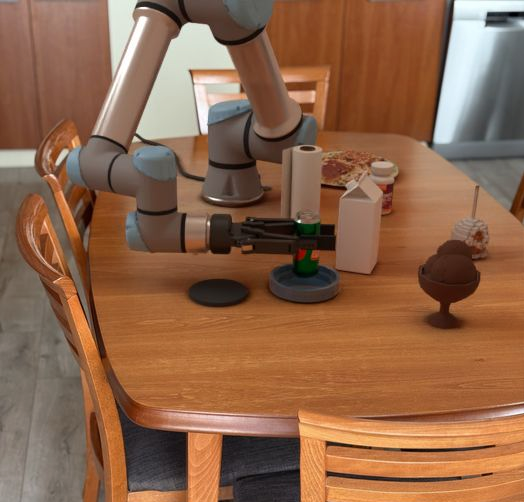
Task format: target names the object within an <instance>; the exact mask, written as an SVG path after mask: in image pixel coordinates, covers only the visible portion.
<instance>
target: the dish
mask: <svg viewBox="0 0 524 502" xmlns="http://www.w3.org/2000/svg"><path fill="white" fill-rule="evenodd" d="M270 270H271V271H270V272H269V274H268V277H269V278H268V287H269V290H270V292H271V293H273V295H275V296H276V297H279V298H280V299H283V300H287V301H291V302H297V303H298V302H299V303H318V302H323V301H326V300H327V301H328V300H330V299H332V298H334V297H335V296H336V295H338V294H339V292H340V289H341V279H342V278H341V275H340V272H338V270H337V269H335V268H333V267H330V266H328V265H325V264H322V263H319V272H318V274H317V275H316V276H314V277H312V278H300V277H297V276H295V275H294V274H293V272H292V262H288V263H283V264H280V265H278V266H275V267H274V268H273V269H270Z"/></svg>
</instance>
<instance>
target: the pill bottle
mask: <svg viewBox="0 0 524 502" xmlns="http://www.w3.org/2000/svg"><path fill="white" fill-rule="evenodd" d="M371 172H372V173H371V174H370V175H369V176H368V177H369V178H370V179H371V180H372V181H373V182H374V183H375V184H376V185H377V186H378V187H379V188H380V189H381V190H382V192H383V199H382V210H381V216H384V215H389V214H390V213H392V208H393V197H394V188H395V187H394V186H395V177H393V176H392V175H391V174H392V173H393V164H392V163H389V162H374V163H372V164H371Z"/></svg>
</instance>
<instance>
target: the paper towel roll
mask: <svg viewBox="0 0 524 502" xmlns="http://www.w3.org/2000/svg"><path fill="white" fill-rule="evenodd" d="M322 153H323V148H322V147H320V146H317V145H315V146H312V145H300V146H295V147H291V148H289V149H286V150H283V159H282V164H281V196H280V197H281V198H280V218H295V216H296V213H297V212H299V211H303V210H311V211H315V212H318V213H319V214H320V205H321V190H322V189H321V188H322V187H321V186H322V184H321V170H322Z"/></svg>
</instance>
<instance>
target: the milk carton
mask: <svg viewBox="0 0 524 502" xmlns="http://www.w3.org/2000/svg"><path fill="white" fill-rule="evenodd" d="M367 174H368V170H367V171H366V172H365V173H364V174H363V175H362V177H361V178H360V179H359V181H358V182H356V181H355V179H353V180H351V181H350V182H348V183H347V184H346V185H345V186H344V187H345V188H346V189H347V190H345V192H344V193H343V194H342V196H341V197H339V204H338V219H337V220H338V222H337V235H336V250H335V268H334V270H336V271H343V272H345V271H346V272H352V273H358V274H366V275H370V274H371V273H372V272H373V269H374V268H375V266H376V264H377V263H378V255H379V243H380V232H381V219H382V215H381V210H382V199H383V192H382V190H381V189H380V188H379V187H378V186H377V185H376V184H375V183H374V182H373V181H372V180H371V179H370V178H369V177H368V176H367Z"/></svg>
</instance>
